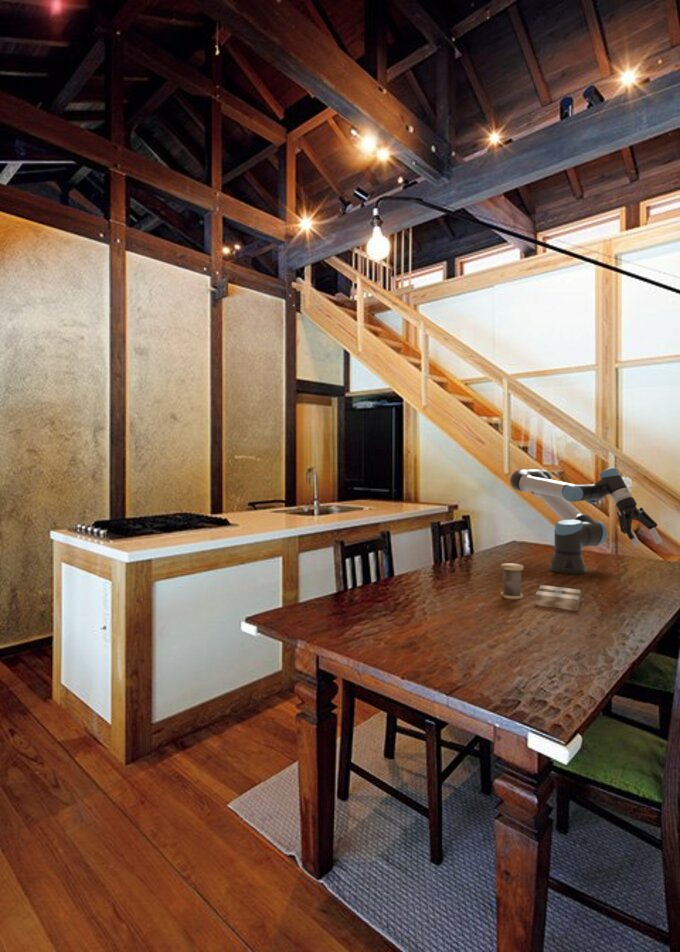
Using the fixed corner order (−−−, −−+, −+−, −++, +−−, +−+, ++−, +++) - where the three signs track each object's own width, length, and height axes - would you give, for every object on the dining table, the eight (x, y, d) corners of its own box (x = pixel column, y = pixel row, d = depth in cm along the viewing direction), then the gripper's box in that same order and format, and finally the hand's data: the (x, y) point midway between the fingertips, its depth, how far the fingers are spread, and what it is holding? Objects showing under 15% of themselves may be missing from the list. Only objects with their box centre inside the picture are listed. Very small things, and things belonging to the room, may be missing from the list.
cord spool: (496, 594, 194) (496, 564, 194) (511, 592, 198) (512, 562, 197) (512, 600, 187) (512, 568, 187) (527, 597, 191) (528, 566, 190)
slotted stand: (535, 604, 182) (535, 594, 182) (540, 595, 194) (540, 584, 194) (577, 610, 175) (577, 599, 175) (580, 600, 187) (580, 589, 187)
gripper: (610, 498, 213) (635, 543, 203) (649, 494, 223) (675, 537, 213) (597, 506, 219) (621, 550, 209) (636, 502, 229) (661, 544, 219)
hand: (648, 544), depth 211 cm, fingers open, 13 cm apart
